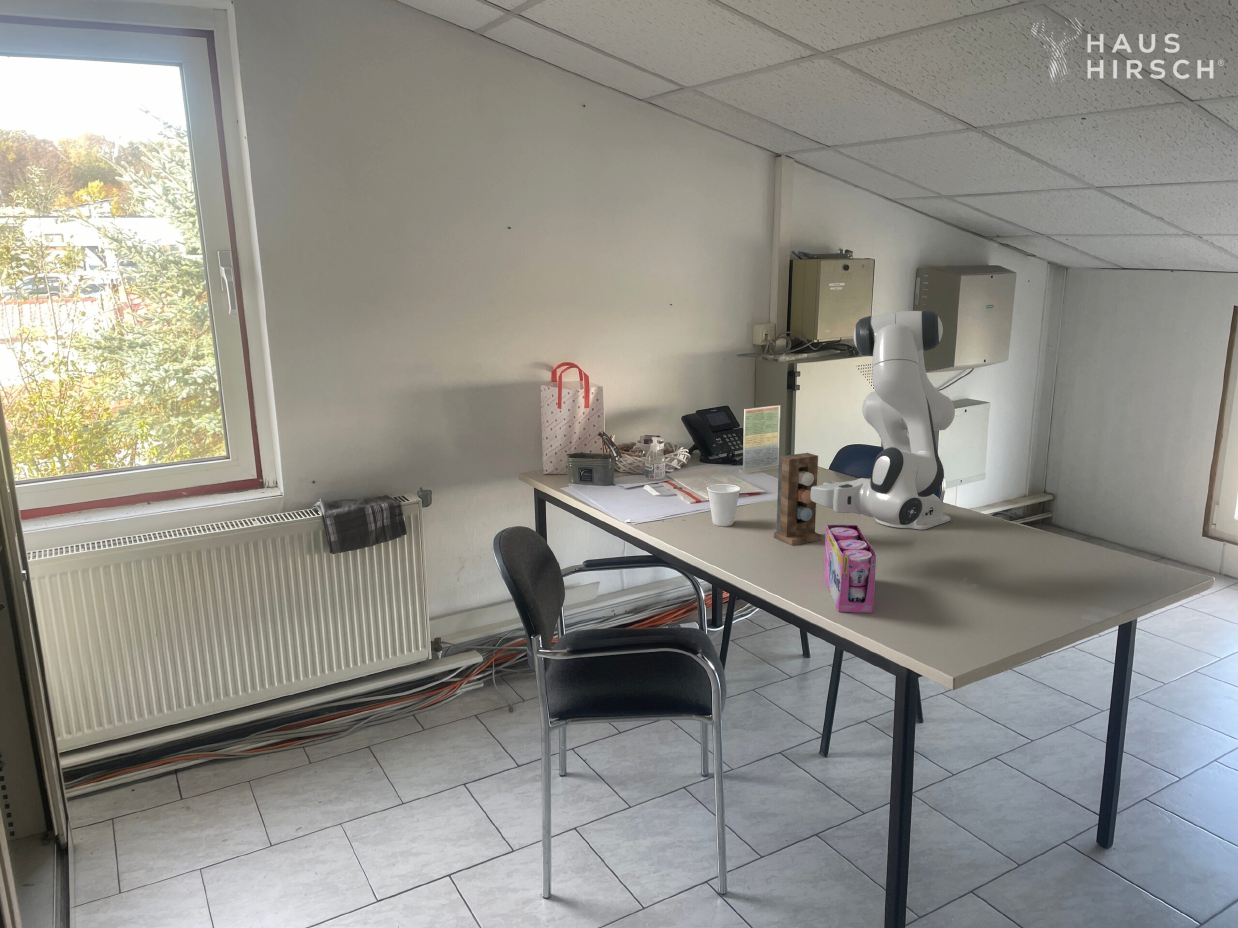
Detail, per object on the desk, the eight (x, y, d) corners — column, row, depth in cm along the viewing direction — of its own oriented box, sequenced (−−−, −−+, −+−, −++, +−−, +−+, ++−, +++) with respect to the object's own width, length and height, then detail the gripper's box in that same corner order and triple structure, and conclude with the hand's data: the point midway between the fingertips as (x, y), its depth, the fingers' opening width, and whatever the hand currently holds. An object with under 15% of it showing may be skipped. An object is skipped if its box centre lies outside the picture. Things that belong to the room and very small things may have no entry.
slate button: (802, 516, 241) (802, 503, 241) (812, 520, 238) (812, 507, 237) (792, 518, 240) (792, 505, 239) (801, 521, 236) (802, 509, 235)
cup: (702, 526, 254) (702, 490, 251) (711, 517, 263) (712, 482, 260) (735, 530, 250) (735, 493, 247) (743, 521, 259) (744, 485, 256)
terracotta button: (802, 499, 240) (803, 486, 239) (812, 502, 237) (813, 489, 236) (792, 500, 239) (793, 488, 238) (802, 504, 235) (803, 491, 234)
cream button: (803, 481, 239) (804, 469, 238) (813, 484, 235) (814, 472, 235) (793, 483, 238) (793, 470, 237) (803, 486, 234) (803, 473, 233)
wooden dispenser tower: (802, 532, 247) (805, 452, 242) (820, 539, 240) (824, 457, 235) (774, 537, 243) (776, 455, 238) (792, 545, 236) (795, 461, 231)
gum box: (875, 616, 189) (879, 557, 185) (839, 615, 189) (842, 556, 186) (855, 577, 212) (858, 524, 209) (822, 576, 212) (825, 524, 209)
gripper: (896, 479, 219) (858, 468, 231) (833, 488, 210) (797, 477, 222) (894, 503, 221) (856, 491, 233) (832, 513, 212) (796, 500, 224)
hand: (827, 484), depth 227 cm, fingers closed
